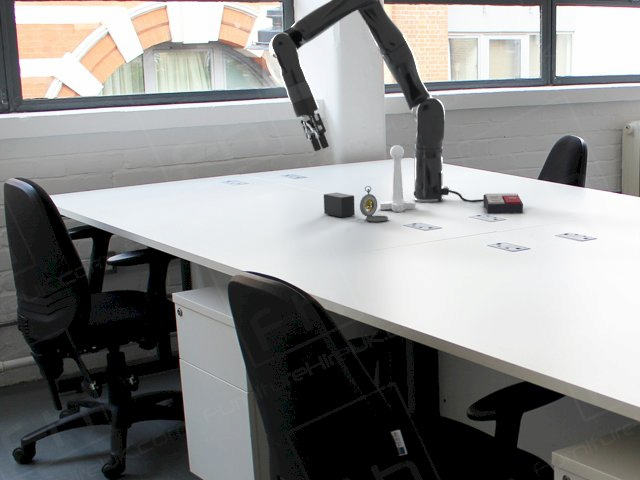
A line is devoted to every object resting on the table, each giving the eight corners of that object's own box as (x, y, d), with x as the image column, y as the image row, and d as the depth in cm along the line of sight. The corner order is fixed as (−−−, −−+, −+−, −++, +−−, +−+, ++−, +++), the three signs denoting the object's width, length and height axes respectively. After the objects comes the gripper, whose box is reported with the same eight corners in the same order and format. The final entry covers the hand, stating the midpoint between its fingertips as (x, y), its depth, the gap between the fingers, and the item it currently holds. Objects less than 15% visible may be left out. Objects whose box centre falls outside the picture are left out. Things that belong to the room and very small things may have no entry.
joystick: (415, 207, 338) (414, 144, 331) (416, 211, 330) (415, 146, 324) (380, 208, 337) (379, 144, 331) (380, 212, 330) (379, 147, 323)
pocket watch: (385, 222, 313) (384, 188, 310) (358, 222, 315) (357, 188, 311) (391, 218, 321) (390, 184, 317) (364, 217, 322) (363, 184, 319)
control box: (487, 201, 324) (483, 192, 337) (487, 215, 325) (483, 205, 339) (523, 201, 324) (517, 191, 338) (522, 215, 325) (517, 204, 339)
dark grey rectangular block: (341, 218, 322) (324, 214, 328) (354, 216, 325) (337, 212, 331) (341, 197, 320) (323, 194, 326) (354, 195, 323) (336, 192, 329)
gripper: (319, 91, 319) (339, 142, 323) (306, 97, 332) (326, 147, 336) (297, 99, 317) (317, 151, 321) (285, 105, 330) (305, 155, 334)
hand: (321, 149), depth 329 cm, fingers open, 8 cm apart
